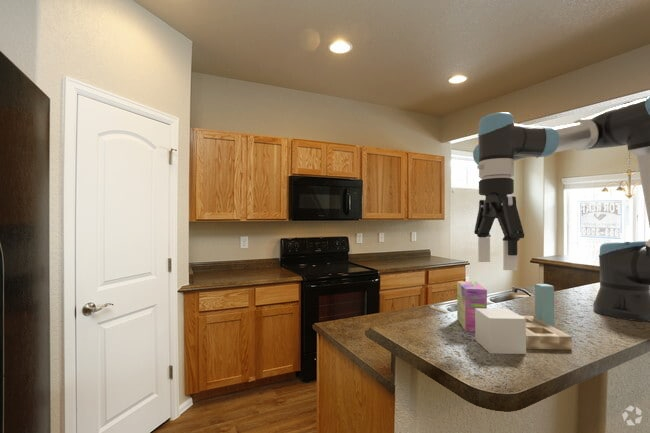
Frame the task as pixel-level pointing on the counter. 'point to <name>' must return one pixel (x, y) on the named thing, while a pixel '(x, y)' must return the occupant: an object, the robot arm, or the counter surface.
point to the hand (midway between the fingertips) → (496, 265)
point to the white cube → (500, 331)
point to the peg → (544, 303)
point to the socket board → (545, 335)
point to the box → (469, 303)
